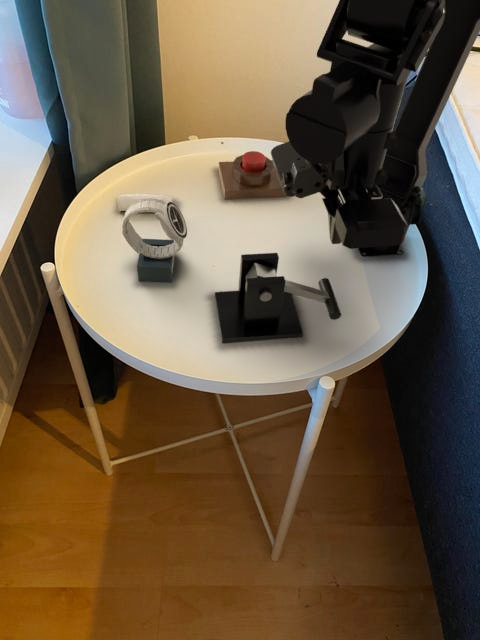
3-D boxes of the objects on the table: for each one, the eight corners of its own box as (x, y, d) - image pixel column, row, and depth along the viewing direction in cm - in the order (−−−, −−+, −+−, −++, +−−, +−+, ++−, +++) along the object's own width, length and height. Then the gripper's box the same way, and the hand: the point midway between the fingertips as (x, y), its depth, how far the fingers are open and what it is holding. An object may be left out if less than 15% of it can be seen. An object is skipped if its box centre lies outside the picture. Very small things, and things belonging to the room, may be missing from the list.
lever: (323, 289, 72) (333, 276, 71) (334, 323, 68) (346, 311, 67) (242, 265, 67) (252, 251, 65) (250, 301, 63) (260, 287, 61)
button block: (277, 168, 93) (279, 150, 90) (286, 197, 87) (289, 178, 85) (218, 170, 91) (219, 152, 89) (224, 199, 86) (225, 180, 83)
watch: (186, 285, 73) (184, 219, 65) (125, 283, 73) (116, 216, 65) (189, 257, 77) (187, 191, 69) (131, 254, 77) (123, 188, 68)
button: (262, 160, 88) (263, 150, 87) (266, 173, 86) (267, 163, 85) (240, 161, 88) (241, 151, 87) (243, 174, 86) (244, 164, 84)
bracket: (288, 293, 73) (297, 242, 67) (301, 339, 68) (312, 289, 61) (214, 298, 72) (215, 247, 65) (221, 345, 67) (224, 295, 60)
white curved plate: (122, 198, 85) (120, 182, 83) (174, 200, 85) (173, 184, 83) (119, 213, 82) (116, 197, 80) (172, 215, 83) (171, 199, 80)
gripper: (264, 74, 57) (253, 197, 69) (306, 177, 45) (284, 305, 57) (366, 72, 59) (338, 193, 71) (432, 171, 47) (386, 297, 59)
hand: (335, 241), depth 64 cm, fingers closed
